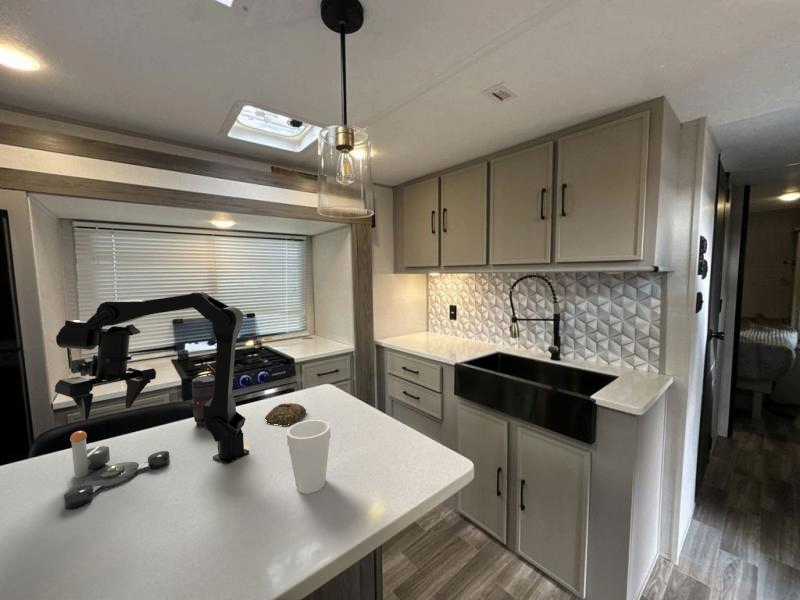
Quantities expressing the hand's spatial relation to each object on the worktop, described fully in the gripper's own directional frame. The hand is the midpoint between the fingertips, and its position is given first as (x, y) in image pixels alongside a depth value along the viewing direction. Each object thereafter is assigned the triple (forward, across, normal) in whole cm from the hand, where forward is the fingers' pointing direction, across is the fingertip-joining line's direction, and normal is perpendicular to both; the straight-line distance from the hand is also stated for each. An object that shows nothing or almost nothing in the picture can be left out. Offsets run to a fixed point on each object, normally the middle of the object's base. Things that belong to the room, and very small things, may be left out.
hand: (107, 413), depth 82 cm
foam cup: (+7, -9, +53) cm, 54 cm away
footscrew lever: (+14, +1, -2) cm, 14 cm away
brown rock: (+9, -39, +24) cm, 47 cm away
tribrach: (+14, +1, +4) cm, 15 cm away
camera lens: (+12, -29, +2) cm, 31 cm away
